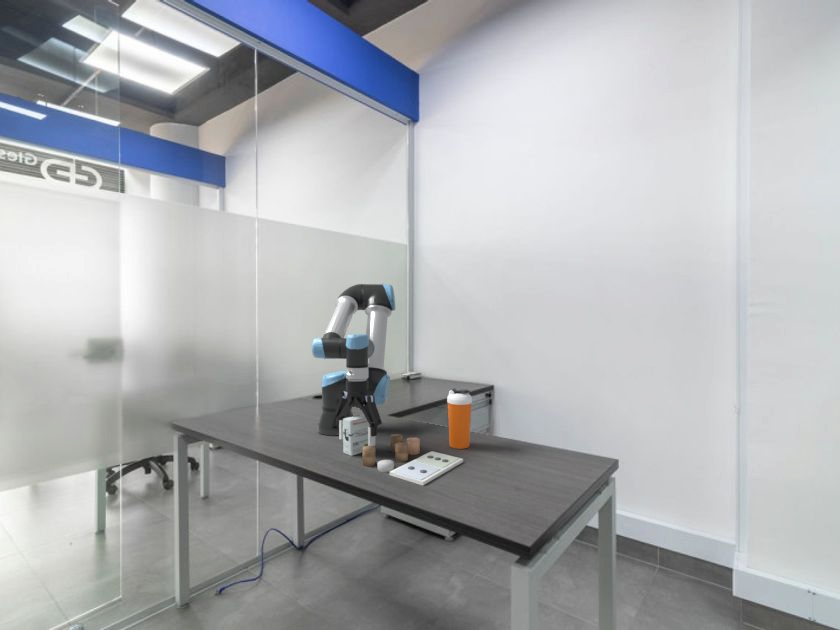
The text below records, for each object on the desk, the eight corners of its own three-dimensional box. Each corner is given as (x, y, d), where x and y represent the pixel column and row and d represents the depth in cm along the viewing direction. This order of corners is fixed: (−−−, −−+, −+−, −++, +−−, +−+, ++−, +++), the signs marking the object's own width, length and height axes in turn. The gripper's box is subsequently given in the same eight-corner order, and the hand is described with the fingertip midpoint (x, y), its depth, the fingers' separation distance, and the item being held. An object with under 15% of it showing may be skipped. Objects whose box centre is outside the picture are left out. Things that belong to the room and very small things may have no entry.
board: (389, 475, 121) (389, 470, 121) (431, 454, 139) (431, 449, 139) (422, 485, 114) (422, 480, 114) (463, 461, 132) (463, 457, 132)
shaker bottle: (470, 450, 143) (471, 392, 142) (445, 448, 144) (445, 391, 144) (472, 442, 151) (473, 387, 151) (448, 440, 153) (448, 386, 153)
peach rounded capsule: (403, 453, 140) (404, 439, 140) (411, 449, 144) (411, 436, 144) (414, 455, 137) (414, 442, 137) (422, 452, 141) (422, 439, 141)
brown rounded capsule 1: (388, 450, 142) (388, 436, 142) (395, 447, 146) (395, 433, 146) (397, 453, 140) (397, 438, 140) (404, 449, 143) (404, 435, 143)
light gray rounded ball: (374, 471, 125) (374, 464, 125) (383, 465, 129) (383, 458, 129) (388, 474, 123) (388, 467, 123) (397, 467, 127) (396, 461, 127)
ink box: (363, 446, 146) (363, 413, 146) (371, 450, 143) (371, 415, 142) (342, 452, 140) (342, 417, 140) (350, 456, 137) (350, 420, 136)
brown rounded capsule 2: (392, 460, 133) (392, 444, 133) (400, 456, 137) (400, 441, 136) (402, 462, 131) (402, 447, 131) (410, 459, 134) (410, 443, 134)
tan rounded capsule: (359, 464, 130) (359, 448, 130) (368, 460, 133) (368, 445, 133) (369, 467, 127) (369, 450, 127) (377, 463, 131) (378, 447, 131)
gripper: (324, 377, 145) (323, 438, 145) (377, 384, 131) (376, 452, 131) (339, 375, 151) (339, 433, 151) (392, 381, 137) (392, 446, 137)
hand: (356, 442), depth 141 cm, fingers open, 13 cm apart
